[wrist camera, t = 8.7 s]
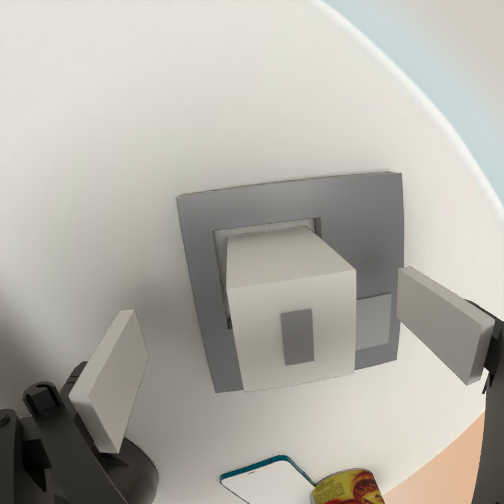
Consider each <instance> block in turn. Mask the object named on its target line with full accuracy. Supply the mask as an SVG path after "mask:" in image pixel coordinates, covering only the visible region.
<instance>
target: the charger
mask: <svg viewBox="0 0 504 504" xmlns="http://www.w3.org/2000/svg"><path fill="white" fill-rule="evenodd" d="M226 291H227V297H228V303H229V309H230V315H231V321H232V327H233V333H234V338H235V344H236V350H237V355H238V361H239V366H240V372H241V377H242V383H243V388H244V392H251V391H258V390H265V389H272V388H279V387H285V386H291V385H297V384H303V383H308V382H314V381H319V380H324V379H329V378H334V377H338V376H343V375H347V374H352V373H354V368H355V345H356V269H355V268H353V267H352V266H351V265H350V264H349V263H348V262H347V261H346V260H344V259H343V258H342V257H341V256H340V255H339V254H338V253H337V252H335V251H334V250H333V249H332V248H331V247H330V246H329V245H327V244H326V243H325V242H324V241H323V240H322V239H320V238H319V237H318V236H317V235H316V234H315V233H313V232H312V231H311V230H310V229H309V228H308V227H306V226H298V227H291V228H283V229H275V230H268V231H260V232H253V233H245V234H238V235H230V236H228V246H227V278H226Z"/></svg>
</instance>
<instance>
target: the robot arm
mask: <svg viewBox="0 0 504 504" xmlns="http://www.w3.org/2000/svg"><path fill="white" fill-rule="evenodd" d="M396 317H397V318H398V319H399V320H400V321H401V322H402V323H403V324H404V325H405V326H406V327H407V328H408V329H409V330H410V331H411V332H413V333H414V334H415V335H416V336H417V337H418V338H419V339H420V340H421V341H422V342H423V343H424V344H425V345H426V346H427V347H428V348H429V349H430V350H431V351H432V352H433V353H434V354H435V355H436V356H437V357H438V358H439V359H440V360H441V361H442V362H444V363H445V364H446V365H447V366H448V367H449V368H450V369H451V370H452V371H453V372H454V373H455V374H456V375H457V376H458V377H459V378H460V379H461V380H462V381H463V382H464V383H465V385H466V386H468V385H470V384H472V383H474V382H476V381H478V380H480V378H481V375H482V372H483V368H484V367H485V368H486V369H487V370H488V371H489V374H488V377H487V380H486V383H485V386H484V389H483V392H482V394H484V393H485V391H486V409H485V422H484V433H483V441H482V450H481V456H480V463H479V469H478V475H477V481H476V485H475V490H474V495H473V499H472V503H471V504H504V321H501V320H500V319H498V318H497V317H495V316H494V315H492V314H491V313H489V312H488V311H485V310H484V309H483V308H481V307H480V306H478V305H477V304H475V303H474V302H472V301H469V300H466V299H463V298H461V297H459V296H458V295H456V294H455V293H453V292H452V291H450V290H448V289H447V288H445V287H444V286H442V285H440V284H439V283H437V282H435V281H434V280H432V279H431V278H429V277H427V276H426V275H424V274H422V273H421V272H419V271H417V270H416V269H414V268H412V267H411V266H410V267H405V268H400V269H398V289H397V308H396ZM148 358H149V355H148V352H147V349H146V346H145V343H144V339H143V336H142V333H141V329H140V326H139V322H138V319H137V315H136V312H135V309H129V310H120V312H119V313H118V315H117V316H116V318H115V319H114V321H113V323H112V324H111V326H110V327H109V329H108V330H107V332H106V334H105V335H104V337H103V338H102V340H101V342H100V343H99V345H98V346H97V348H96V350H95V351H94V353H93V355H92V356H91V358H90V360H89V361H88V362H82V363H81V364H79V365H78V366H77V367H76V368H75V369H74V370H73V372H72V373H71V375H70V377H69V378H68V380H67V381H66V384H65V385H64V386H63V388H62V389H61V391H60V393H58V391H57V389H56V387H55V386H54V384H53V383H50V382H40V383H36V384H34V385H32V386H31V387H29V388H28V389H27V390H26V391H25V392H24V394H23V401H24V403H25V405H26V406H27V408H28V410H29V412H30V413H31V415H32V417H29V418H22V419H19V417H18V416H17V414H16V412H15V411H14V410H12V409H3V410H0V504H152V502H153V501H154V498H155V496H156V491H157V485H158V474H157V471H156V469H155V467H154V465H153V464H152V462H151V461H150V460H149V459H148V457H147V456H146V455H145V454H144V453H143V452H142V451H140V450H139V449H138V448H137V447H136V446H134V445H133V444H132V443H130V442H129V441H127V440H126V439H124V438H123V437H124V433H125V430H126V427H127V423H128V420H129V417H130V414H131V410H132V407H133V404H134V401H135V398H136V395H137V392H138V388H139V385H140V382H141V379H142V376H143V373H144V370H145V367H146V364H147V361H148Z"/></svg>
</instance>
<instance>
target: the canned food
mask: <svg viewBox="0 0 504 504" xmlns="http://www.w3.org/2000/svg"><path fill="white" fill-rule="evenodd" d="M315 485H316V488H315V489H314V490H313V491H312V492H311V494H310V502H311V504H385V503H384V500H383V498H382V495H381V493H380V491H379V488H378V486H377V484H376V481H375V479H374V476H373V474H372V473H371V472H370V471H369V470H366V469H350V470H345V471H341V472H338V473H335V474H332V475H330V476H328V477H326V478H324V479H322V480H321V481H319V482H318V483H316V484H315Z"/></svg>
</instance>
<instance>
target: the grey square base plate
mask: <svg viewBox="0 0 504 504" xmlns="http://www.w3.org/2000/svg"><path fill="white" fill-rule="evenodd" d="M176 200H177V207H178V213H179V219H180V225H181V231H182V237H183V242H184V248H185V254H186V259H187V264H188V270H189V275H190V280H191V285H192V290H193V295H194V300H195V305H196V310H197V315H198V319H199V324H200V329H201V333H202V338H203V342H204V347H205V351H206V355H207V360H208V364H209V368H210V372H211V376H212V380H213V385H214V389H215V393H219V392H229V391H237V390H244V388H243V383H242V377H241V372H240V366H239V361H238V355H237V350H236V344H235V338H234V333H233V327H232V321H231V319H228V317H227V311H226V305H225V299H224V293H223V287H222V281H221V275H220V269H219V263H218V256H217V250H216V244H215V237H214V231H218V230H225V229H232V228H240V227H247V226H255V225H262V224H270V223H277V222H285V221H293V220H301V219H309V218H315V227H316V235H317V236H318V237H319V238H320V239H322V240H323V241H324V242H325V243H326V244H327V245H329V246H330V247H331V248H332V249H333V250H334V251H335V252H337V253H338V254H339V255H340V256H341V257H342V258H343V259H344V260H346V261H347V262H348V263H349V264H350V265H351V266H352V267H353V268H355V269H356V345H355V368H354V370H358V369H362V368H366V367H371V366H375V365H379V364H382V363H386V362H390V361H394V360H396V359H397V351H398V342H399V332H400V320H399V319H398V318H397V317H396V308H397V289H398V269H400V268H404V209H403V186H402V173H394V172H386V173H370V174H356V175H344V176H332V177H321V178H310V179H301V180H291V181H282V182H273V183H265V184H256V185H248V186H241V187H233V188H226V189H219V190H212V191H205V192H198V193H192V194H185V195H180V196H178V197H177V198H176Z"/></svg>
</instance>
